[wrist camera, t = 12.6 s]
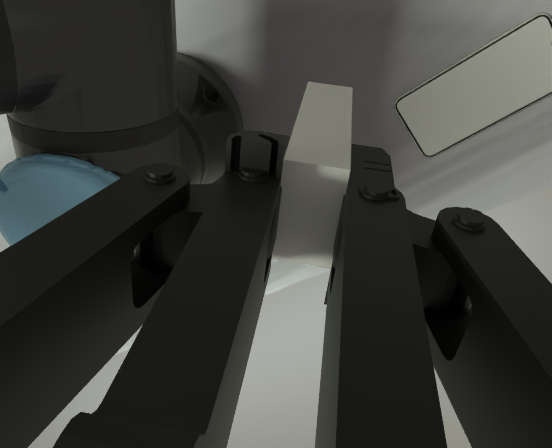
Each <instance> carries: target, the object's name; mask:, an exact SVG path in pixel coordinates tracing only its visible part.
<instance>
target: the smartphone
mask: <svg viewBox="0 0 552 448" xmlns="http://www.w3.org/2000/svg"><path fill="white" fill-rule="evenodd" d="M551 94H552V19H551V17H550V16H549V15H547V14H544V13H539V14H536V15H534V16H532V17H531V18H529V19H527V20H526V21H524V22H523V23H522V24H520V25H517V26H516V27H514V28H513V29H510V30H508V31H507V32H505V33H504V34H502V35H500V36H499V37H498V38H495V39H494V40H492V41H490V42H489V43H487V44H485V45H484V46H483V47H481V48H480V49H478V50H476V51H475V52H473V53H471V54H470V55H468V56H466V57H465V58H463V59H461V60H460V61H458V62H456V63H455V64H453V65H451V66H450V67H448V68H446V69H445V70H443V71H441V72H440V73H438V74H437V75H435V76H433V77H432V78H430V79H428V80H427V81H425V82H423V83H422V84H420V85H418V86H417V87H415V88H413V89H412V90H410V91H408V92H407V93H405V94H403V95H402V96H400V97H399V98H398V99H397V100H396V101H395V104H396V105H395V104H394V107H395V111H396V112H397V114H398V116H399V117H400V119H401V121H402V122H403V124H404V126H405V127H406V129H407V131H408V132H409V134H410V136H411V137H412V139H413V141H414V142H415V144H416V145H417V147H418V149H419V150H420V152H421V154H422V155H423V156H425V157H427V158H431V157H434V156H436V155H438V154H440V153H442V152H444V151H446V150H448V149H450V148H452V147H453V146H455V145H457V144H459V143H461V142H463V141H465V140H467V139H469V138H470V137H472V136H474V135H476V134H478V133H480V132H482V131H484V130H485V129H487V128H489V127H491V126H493V125H495V124H497V123H499V122H501V121H502V120H504V119H506V118H508V117H510V116H512V115H514V114H516V113H518V112H519V111H521V110H523V109H525V108H527V107H529V106H531V105H533V104H535V103H536V102H538V101H540V100H542V99H544V98H546V97H548V96H550V95H551Z"/></svg>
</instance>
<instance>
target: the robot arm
mask: <svg viewBox="0 0 552 448" xmlns="http://www.w3.org/2000/svg"><path fill="white" fill-rule="evenodd" d="M352 92H353V88H352V87H345V86H338V85H330V84H323V83H316V82H309V81H308V84H307V87H306V90H305V93H304V96H303V100H302V103H301V106H300V109H299V112H298V115H297V119H296V122H295V125H294V128H293V131H292V135H291V136H285V135H278V134H271V133H264V132H256V131H243V127H242V119H241V114H240V110H239V107H238V104H237V102H236V100H235V98H234V96H233V94H232V92H231V91H230V89H229V88H228V86H227V85H226V84H225V82H224V81H223V80H222V79H221V78H220V77H219V76H218V75H217V74H216V73H215V72H214V71H213V70H211V69H210V68H209V67H207V66H206V65H205V64H203V63H201V62H200V61H198V60H196V59H194V58H191V57H189V56H186V55H183V54H179V53H177V39H176V16H175V0H0V114H7V118H8V123H9V127H10V131H11V136H12V140H13V145H14V149H15V153H16V159H15V160H13V161H12V162H10V163H9V164H7V165H6V166H5V167H4V168H3V169H2V171H1V173H0V232H1V234H2V235H3V237H4V238H5V240H6V241H7V242H8V244H9V245H10V247H8V248H7V249H5V250H4V251H2V252H0V448H28V446H29V445H30V444H31V443H32V442H33V441H34V440H35V439H36V438H37V437H38V436H39V435H40V433H41V432H42V431H43V430H44V429H45V428H46V427H47V426H48V425H49V424H50V423H51V422H52V421H53V420H54V419H55V418H56V417H57V415H58V414H59V413H60V412H61V411H62V410H63V409H64V408H65V407H66V406H67V405H68V403H70V402H71V401H72V399H73V398H74V397H75V396H76V395H77V394H78V393H79V392H80V391H81V390H82V389H83V388H84V387H85V385H87V383H88V382H89V381H90V380H91V379H92V378H93V377H94V376H95V375H96V374H97V373H98V372H99V371H100V369H102V367H103V366H104V365H105V364H106V363H107V362H108V361H109V360H110V359H111V358H112V357H113V356H114V355H115V354H116V353H117V351H118V350H119V349H120V348H121V347H122V346H123V345H124V344H125V343H126V342H127V341H128V340H129V339H130V338H131V336H132V335H133V334H134V333H135V332H136V331H137V330H138V329H139V328H140V327H141V326H142V325H143V326H142V328H141V329H140V331H139V333H138V335H137V337H136V339H135V341H134V343H133V344H132V346H131V348H130V350H129V352H128V354H127V356H126V358H125V360H124V361H123V364H122V365H121V367H120V369H119V371H118V373H117V375H116V376H115V378H114V380H113V382H112V384H111V386H110V388H109V390H108V392H107V393H106V395H105V397H104V399H103V401H102V403H101V404H100V406H99V407H98V409H97V410H96V411H95V412H93V413H92V414H89V413H84V412H80V413H79V414H77V415H76V416H75V417H73V418H72V419H71V420H70V422H69V423H68V424H67V426H66V427H65V429H64V430H63V432H62V433H61V434H60V436H59V438H58V440H57V441H56V443H55V445H54V447H53V448H226V447H227V443H228V438H229V435H230V431H231V426H232V422H233V418H234V414H235V410H236V406H237V402H238V398H239V394H240V390H241V386H242V382H243V378H244V374H245V370H246V366H247V362H248V358H249V354H250V349H251V346H252V341H253V338H254V333H255V329H256V325H257V321H258V317H259V313H260V309H261V305H262V301H263V297H264V293H265V289H266V285H267V281H268V277H269V273H270V267H271V259H277V260H283V261H289V262H295V263H301V264H307V265H313V266H319V267H325V268H331V272H330V277H329V282H328V287H327V292H326V297H325V302H324V304H327V309H326V321H325V333H324V345H323V358H322V369H321V381H320V393H319V405H318V416H317V429H316V440H315V448H447V444H446V438H445V432H444V426H443V420H442V414H441V408H440V402H439V396H438V391H437V385H436V379H435V373H434V368H435V370H436V372H437V374H438V376H439V378H440V380H441V383H442V385H443V387H444V389H445V391H446V393H447V395H448V398H449V400H450V402H451V404H452V406H453V408H454V410H455V412H456V415H457V417H458V419H459V421H460V423H461V425H462V427H463V429H464V431H465V434H466V436H467V438H468V440H469V442H470V444H471V447H472V448H552V284H551V283H550V282H549V281H548V279H547V278H546V277H545V276H544V275H543V274H542V273H541V272H540V270H539V269H538V268H537V267H536V266H535V265H534V264H533V263H532V261H531V260H530V259H529V258H528V257H527V256H526V255H525V254H524V252H523V251H522V250H521V249H520V248H519V247H518V246H517V245H516V244H515V242H514V241H513V240H512V239H511V238H510V237H509V236H508V234H507V233H506V232H505V231H504V230H503V229H502V228H501V227H500V225H499V224H498V223H496V222H495V221H494V220H493V219H492V218H490V217H488V216H486V215H484V214H482V213H481V212H480V211H477V210H475V209H474V210H473V209H471V208H460V207H450V208H445V209H443V210H441V211H440V212H439V214H438V216H437V219H436V221H435V220H432V219H429V218H425V217H422V216H420V215H417V214H415V213H413V212H411V211H409V210H407V209H406V203H405V198H404V196H403V194H402V193H401V192H400V191H398V190H397V189H396V188H395V186H394V179H393V173H392V166H391V159H390V156H389V155H388V154H387V153H386V152H385V151H384V150H383V149H382V148H376V147H369V146H362V145H355V144H351V131H352ZM272 252H273V254H272ZM331 266H332V267H331ZM433 366H434V367H433Z"/></svg>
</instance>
